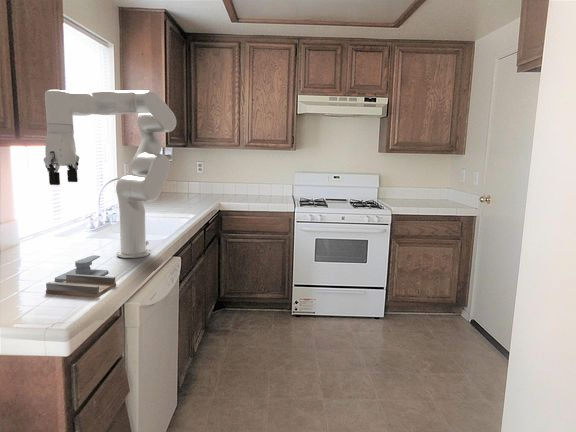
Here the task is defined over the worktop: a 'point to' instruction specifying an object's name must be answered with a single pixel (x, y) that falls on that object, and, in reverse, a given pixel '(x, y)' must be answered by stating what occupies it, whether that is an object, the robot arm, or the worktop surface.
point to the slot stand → (81, 285)
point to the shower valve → (83, 269)
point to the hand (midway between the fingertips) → (64, 183)
